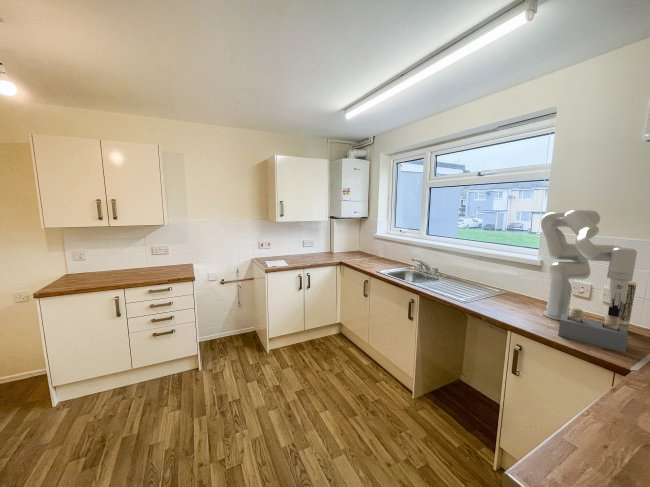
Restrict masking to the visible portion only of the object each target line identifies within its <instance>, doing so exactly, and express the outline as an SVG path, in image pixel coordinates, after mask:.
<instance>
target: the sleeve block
mask: <svg viewBox="0 0 650 487" xmlns="http://www.w3.org/2000/svg"><path fill="white" fill-rule="evenodd" d="M604 322H605V321H604ZM604 322H603V321H598V320H593V319H588V318H585V317H582V318H581V322H577V321H572V320H569V314H568V315H567V314H562V315H561V319H560V320H559V324H558V325H559V326H558V334H557V336H559V337H562V338H567V339H571V340H574V341H579V342H582V343H586V344H588V345H593V346H598V347H602V348H605V349H608V350H612V351H616V352H619V353H620V352H621V353H623V354H626V351H627V346H628V339H629V333H628V331H627V329H626V327H622V326H618V331H616V330H612V329H607V328H604Z"/></svg>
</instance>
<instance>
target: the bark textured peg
mask: <svg viewBox="0 0 650 487" xmlns="http://www.w3.org/2000/svg"><path fill="white" fill-rule="evenodd" d="M636 288H637V282H634V281H628V291H627V298H626V303H625V304H623V303H622V301H621V302H620V311H619V318H620V321H619V326H622V327H626V329H627V332H628V331H629V327H630V322H631V316H632V311H633V305H634V304H633V303H634V300H635V294H636Z"/></svg>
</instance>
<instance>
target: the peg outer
mask: <svg viewBox="0 0 650 487" xmlns="http://www.w3.org/2000/svg"><path fill="white" fill-rule="evenodd" d="M619 321H620V318H619V317H614V316H609V315H608V314H606V315H605V318H604V328H607V329H612V330H616V331H618V326H619Z"/></svg>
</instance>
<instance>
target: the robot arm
mask: <svg viewBox="0 0 650 487" xmlns="http://www.w3.org/2000/svg"><path fill="white" fill-rule="evenodd" d="M600 221H601V215H600V213H598V212H597V211H595V210H594V209H593V210H591V209H573V210H570V211H566V212H565V211H553V212H548V213H545V214H544V215H543V216H542V218H541V220H540V226H541V230H542V232H543V235H544V236H545V241H546V244H547V250H548V254H549V257H550V258H551V259H552V260H557V261H555V262H553V263H552V264H550V266H549V279H550V280H549V289H548V296H547V302H546V303H547V304H546V305H545V308H546V310H542V315H543V316H545V317H547V318H550V319H554V320H556V321H560V319H561V315H562V314H567V315H569V313H570V307H571V306H570V305H571V299H572V293H573V292H572V291H573V287H572V283H571V282H570V280H578V281H579V280H581V281H582V280H586V279H588V278H589V277H590V275H591V268H590V267H591V266H590V263H589V261H593V262H597V261H598V262H609V265H608V268H607V269H608V270H607V274H606V278H607V279H609V280H610V282H609V287H608V299H609V301H610V303H609V307H608V311H607V315H609V316H614V317H619V311H620V302H621V301H622V303H623V304H625V303H626V298H627V291H628V281H631V282H633V278H634V272H635V266H636V261H637V256H638V255H637V254H638V251H637V250H636V249H634V248H629V247H622V246H620V245H613V244H611V245H610V244H594V243H593V242H592V241H591V240H590V239H592V238H594V237H595V236H596V235H598V233H599V232H600V230H599V229H600V228H599V227H598V226H597V225H598V224H599V223H600ZM559 228H570V229H571V230H572V232H573V233H574V234H575V235H576V238H575V243H568V242H567V240H566V235H565V234H564V233H563V231H562V230H560V229H559Z"/></svg>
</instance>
